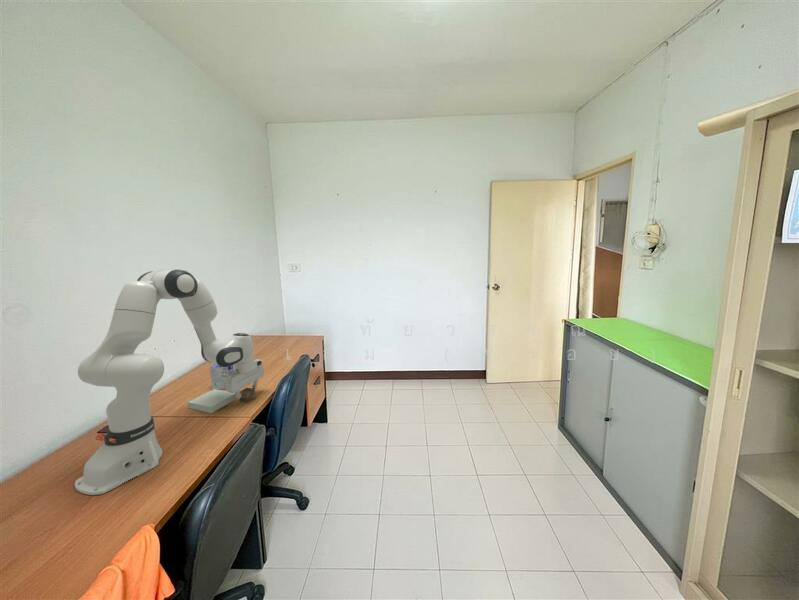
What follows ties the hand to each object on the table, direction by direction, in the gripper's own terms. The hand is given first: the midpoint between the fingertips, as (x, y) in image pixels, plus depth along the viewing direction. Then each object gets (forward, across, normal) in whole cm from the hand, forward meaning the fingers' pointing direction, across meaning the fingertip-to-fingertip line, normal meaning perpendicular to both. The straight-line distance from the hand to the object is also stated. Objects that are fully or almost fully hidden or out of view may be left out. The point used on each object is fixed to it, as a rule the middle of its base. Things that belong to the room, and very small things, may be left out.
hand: (247, 392), depth 152 cm
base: (+3, -8, +13) cm, 16 cm away
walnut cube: (+4, 0, 0) cm, 4 cm away
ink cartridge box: (+4, +7, +23) cm, 24 cm away
